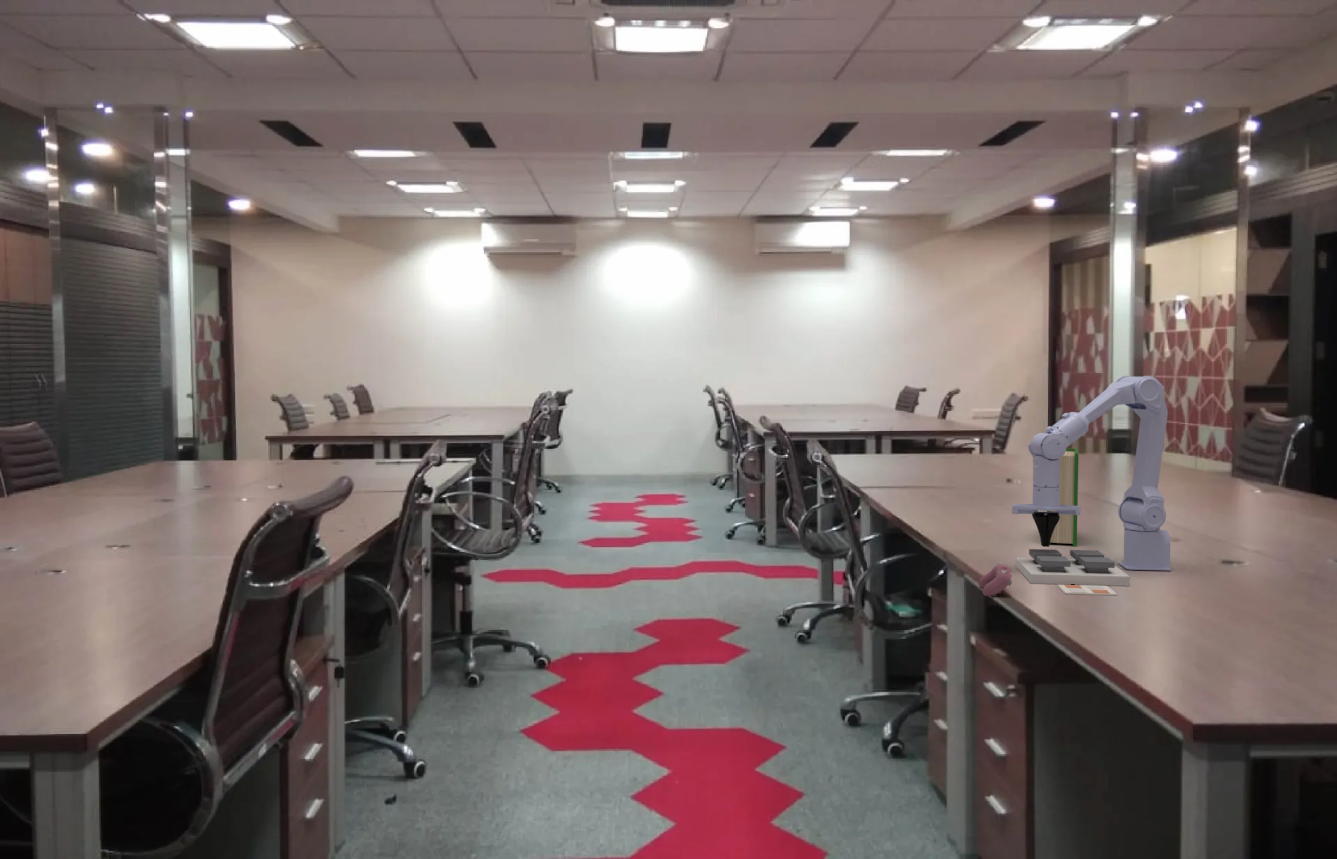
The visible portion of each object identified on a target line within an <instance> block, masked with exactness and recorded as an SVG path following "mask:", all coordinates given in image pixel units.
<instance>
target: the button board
mask: <svg viewBox="0 0 1337 859" xmlns="http://www.w3.org/2000/svg"><path fill="white" fill-rule="evenodd" d="M1067 559H1068V560H1069V561H1071V562H1070V567H1065V570H1064V572H1043V571H1042V566H1040V565H1039V564H1035V563H1034V559H1033V558H1032V557H1015V567H1016V569H1018V570H1019V572H1020V573H1021V574H1022V575H1023V576H1024V577H1025V579H1026V580H1027V581H1028V582H1029V583H1030V584H1033V585H1035V584H1037V585H1038V584H1039V585H1041V584H1042V585H1043V584H1044V585H1071V584H1075V585H1098V586H1108V587H1109V586H1114V587H1115V586H1116V587H1131V576H1129V575H1128V574H1127V573H1126V572H1125V571H1123V570H1121V569H1120V568H1119V567H1117V565H1115V568H1108V573H1086V572H1085V571H1084V570H1085V567H1084V566H1083V565H1077V564H1075V559H1074V558H1067Z"/></svg>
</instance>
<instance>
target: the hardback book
mask: <svg viewBox="0 0 1337 859" xmlns="http://www.w3.org/2000/svg"><path fill="white" fill-rule="evenodd" d="M1078 490H1079V449H1078V448H1066V452H1065V454H1064V455H1063V456H1062V457H1060V497H1059V505H1072V506H1079V505H1078V501H1079V499H1078V498H1079V496H1078V495H1079V494H1078V493H1079V491H1078ZM1046 512H1055V511H1046ZM1059 516H1060V519H1059V521H1058V523H1057V525H1056V527H1055V529H1054V531H1053V533H1052V536H1051V540H1050V544H1049V546H1051V543H1053V544H1054V543H1056V544H1072V547H1076V548H1077V547H1078V515H1066V514H1059Z"/></svg>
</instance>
